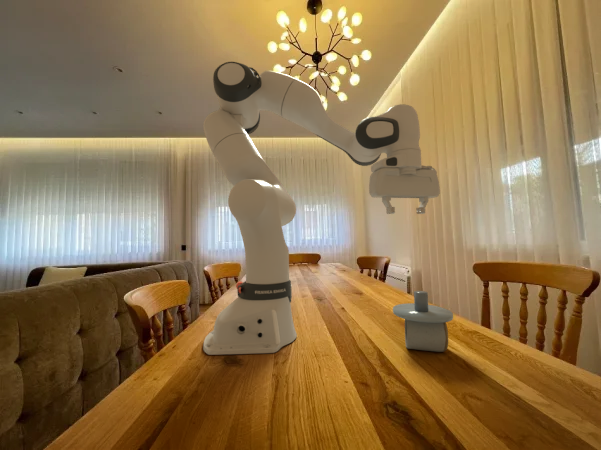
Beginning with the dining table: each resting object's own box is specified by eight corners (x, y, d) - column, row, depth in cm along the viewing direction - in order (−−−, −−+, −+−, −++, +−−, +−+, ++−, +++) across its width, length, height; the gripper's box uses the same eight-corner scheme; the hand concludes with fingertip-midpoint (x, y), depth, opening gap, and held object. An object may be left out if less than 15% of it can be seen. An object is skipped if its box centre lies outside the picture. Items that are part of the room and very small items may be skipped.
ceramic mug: (451, 359, 51) (449, 320, 52) (407, 354, 53) (405, 317, 54) (439, 339, 61) (437, 307, 62) (403, 336, 64) (401, 305, 64)
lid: (414, 325, 49) (413, 300, 49) (383, 308, 61) (382, 288, 61) (467, 320, 51) (466, 296, 52) (427, 305, 63) (426, 285, 63)
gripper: (428, 169, 76) (430, 214, 75) (365, 166, 72) (367, 214, 71) (444, 162, 70) (446, 212, 69) (377, 159, 65) (379, 212, 65)
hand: (406, 213), depth 70 cm, fingers open, 8 cm apart
